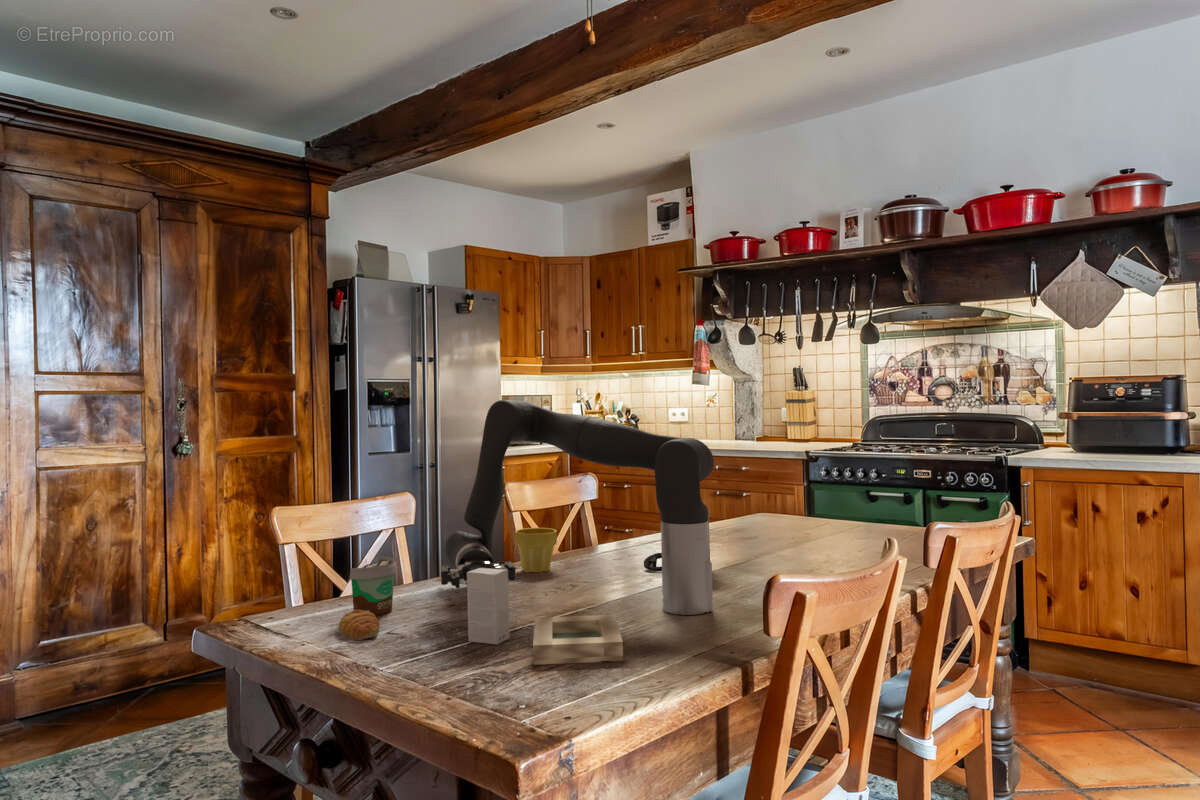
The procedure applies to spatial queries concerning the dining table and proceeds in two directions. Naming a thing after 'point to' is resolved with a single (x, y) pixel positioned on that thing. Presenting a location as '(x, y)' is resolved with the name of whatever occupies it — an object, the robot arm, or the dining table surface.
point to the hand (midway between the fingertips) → (481, 581)
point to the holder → (576, 640)
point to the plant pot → (535, 548)
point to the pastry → (359, 625)
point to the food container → (374, 586)
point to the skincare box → (488, 605)
